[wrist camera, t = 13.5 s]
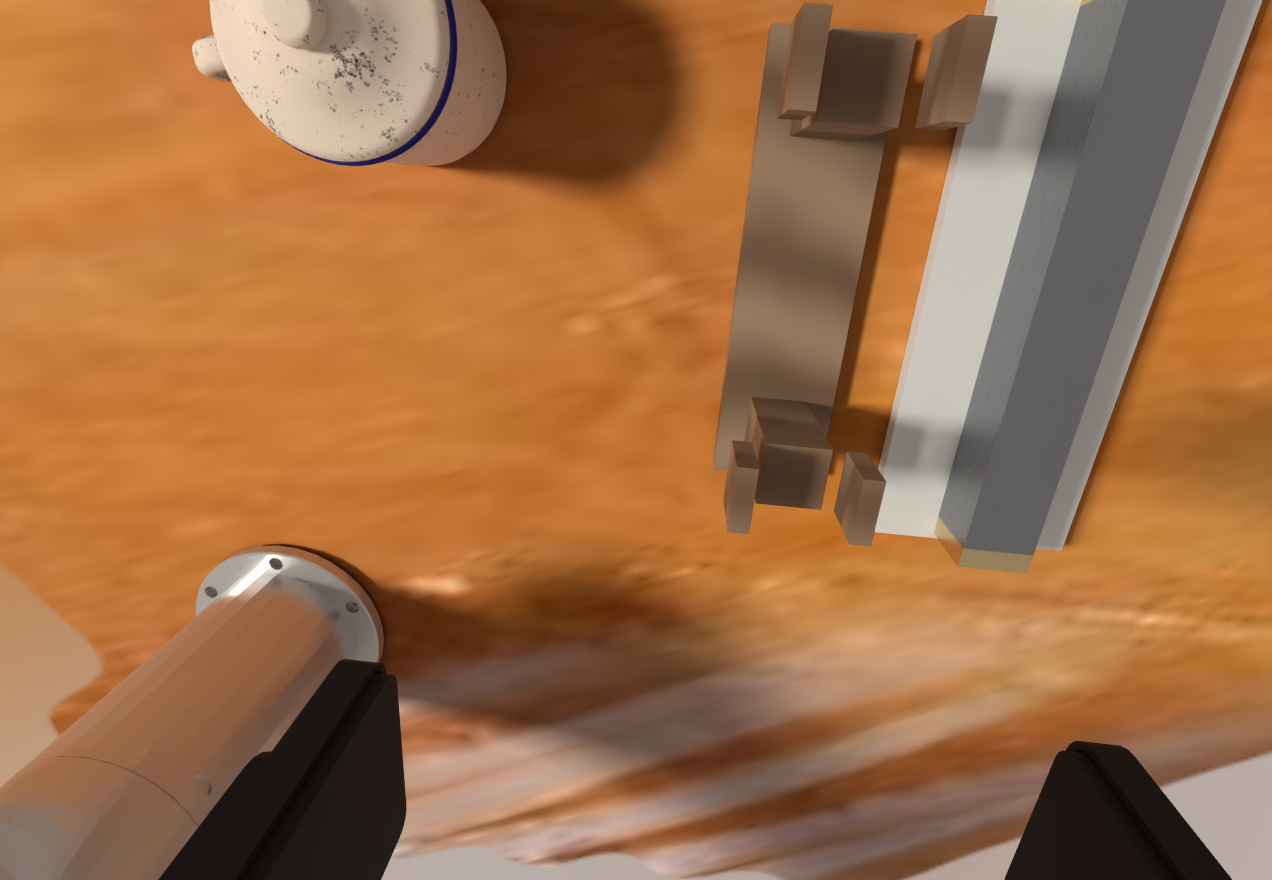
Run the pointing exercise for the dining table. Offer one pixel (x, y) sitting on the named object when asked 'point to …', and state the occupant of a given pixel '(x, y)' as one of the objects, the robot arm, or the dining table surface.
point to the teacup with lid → (363, 75)
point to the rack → (819, 249)
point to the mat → (982, 245)
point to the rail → (1070, 267)
